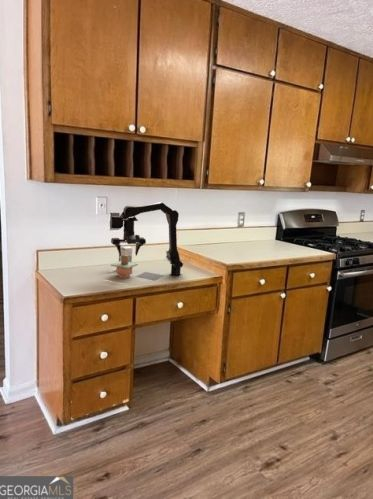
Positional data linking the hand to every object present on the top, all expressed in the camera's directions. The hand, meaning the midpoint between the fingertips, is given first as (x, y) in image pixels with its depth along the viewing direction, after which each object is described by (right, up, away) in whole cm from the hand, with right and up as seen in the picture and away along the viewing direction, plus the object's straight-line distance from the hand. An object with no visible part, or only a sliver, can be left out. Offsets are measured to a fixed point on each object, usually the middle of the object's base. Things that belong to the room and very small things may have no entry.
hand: (128, 255), depth 213 cm
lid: (-2, -5, +1) cm, 6 cm away
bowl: (-3, -12, +2) cm, 13 cm away
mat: (+12, -12, +6) cm, 18 cm away
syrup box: (-5, -9, +18) cm, 21 cm away
